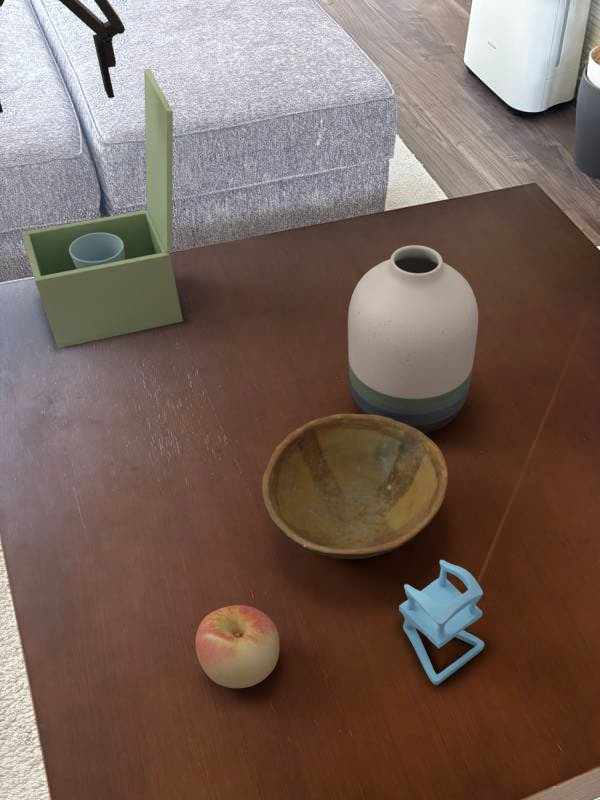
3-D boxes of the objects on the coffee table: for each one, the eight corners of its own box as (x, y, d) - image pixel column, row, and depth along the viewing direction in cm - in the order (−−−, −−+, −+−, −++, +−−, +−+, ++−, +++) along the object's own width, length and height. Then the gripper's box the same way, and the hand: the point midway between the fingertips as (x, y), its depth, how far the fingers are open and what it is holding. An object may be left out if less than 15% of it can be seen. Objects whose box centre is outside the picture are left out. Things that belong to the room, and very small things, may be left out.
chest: (58, 349, 128) (34, 280, 119) (44, 300, 135) (21, 231, 126) (183, 322, 133) (170, 254, 124) (163, 276, 140) (149, 209, 131)
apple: (193, 648, 97) (182, 608, 91) (268, 623, 100) (262, 582, 93) (215, 712, 92) (204, 675, 86) (293, 684, 95) (289, 646, 89)
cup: (128, 286, 137) (113, 227, 129) (144, 313, 133) (130, 253, 125) (81, 299, 134) (62, 239, 126) (96, 327, 130) (78, 267, 122)
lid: (166, 110, 109) (172, 111, 110) (144, 68, 116) (150, 68, 117) (166, 252, 123) (172, 251, 124) (146, 206, 131) (152, 206, 131)
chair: (436, 602, 102) (443, 539, 93) (485, 648, 99) (498, 587, 89) (387, 638, 99) (390, 576, 90) (435, 687, 95) (444, 628, 86)
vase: (393, 352, 131) (398, 206, 112) (488, 398, 125) (511, 252, 107) (325, 414, 122) (318, 266, 103) (424, 466, 116) (437, 320, 97)
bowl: (480, 537, 109) (490, 484, 101) (339, 635, 99) (337, 584, 91) (370, 441, 119) (371, 386, 111) (231, 522, 109) (221, 467, 101)
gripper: (-123, -81, 87) (-47, 128, 104) (126, -99, 94) (160, 100, 111) (-127, -104, 91) (-53, 100, 108) (112, -120, 98) (146, 75, 115)
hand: (55, 100), depth 109 cm, fingers open, 13 cm apart
